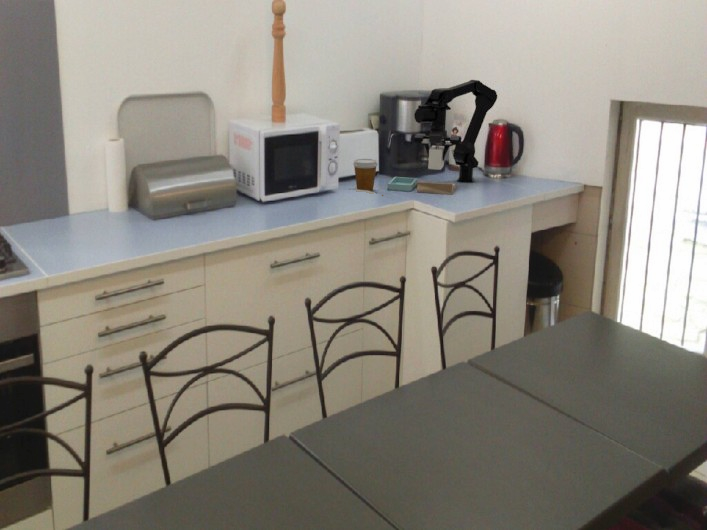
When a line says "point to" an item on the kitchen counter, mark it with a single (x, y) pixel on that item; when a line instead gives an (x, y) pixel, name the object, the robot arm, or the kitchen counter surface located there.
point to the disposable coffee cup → (365, 173)
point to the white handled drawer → (436, 157)
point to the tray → (402, 184)
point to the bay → (435, 187)
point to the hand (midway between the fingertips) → (436, 160)
